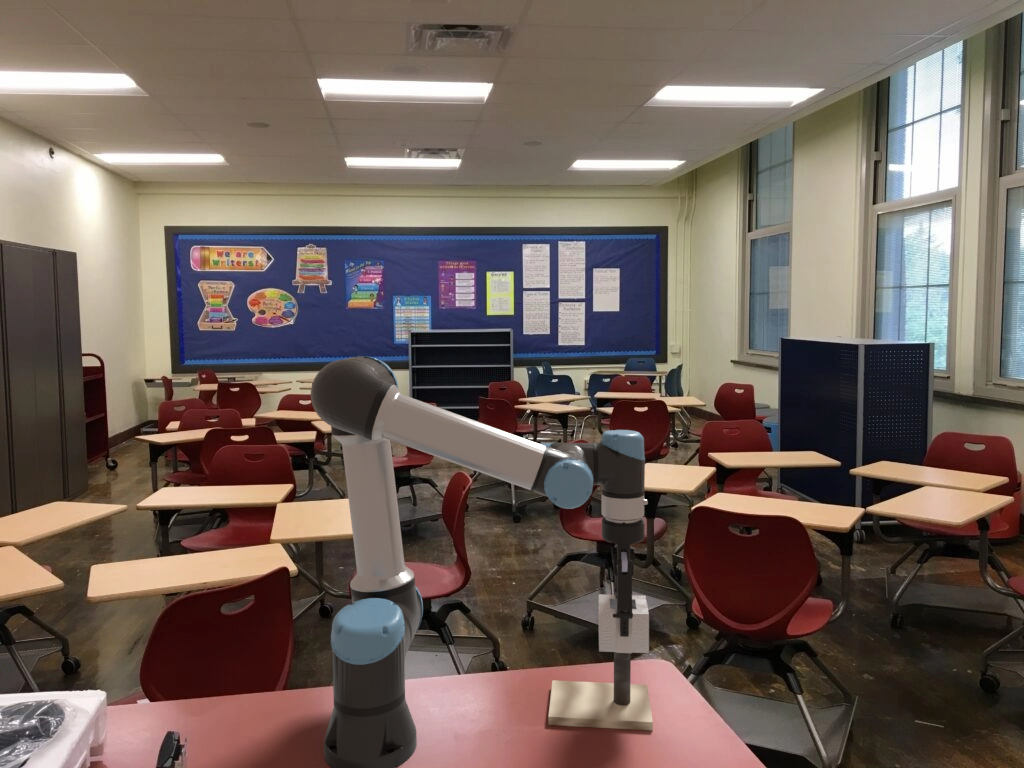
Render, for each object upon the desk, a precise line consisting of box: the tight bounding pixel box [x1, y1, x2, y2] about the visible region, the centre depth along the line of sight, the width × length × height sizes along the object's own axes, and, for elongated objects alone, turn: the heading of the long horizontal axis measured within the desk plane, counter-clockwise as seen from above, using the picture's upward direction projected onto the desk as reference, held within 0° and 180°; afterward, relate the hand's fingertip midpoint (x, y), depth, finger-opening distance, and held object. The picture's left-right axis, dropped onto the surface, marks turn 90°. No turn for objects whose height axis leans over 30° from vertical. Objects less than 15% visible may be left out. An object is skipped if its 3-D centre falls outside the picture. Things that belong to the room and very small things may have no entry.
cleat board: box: [547, 652, 654, 731], centre depth 131 cm, size 18×13×12 cm
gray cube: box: [598, 593, 650, 654], centre depth 130 cm, size 9×9×7 cm
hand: (622, 640), depth 130 cm, fingers closed on gray cube, 9 cm apart
